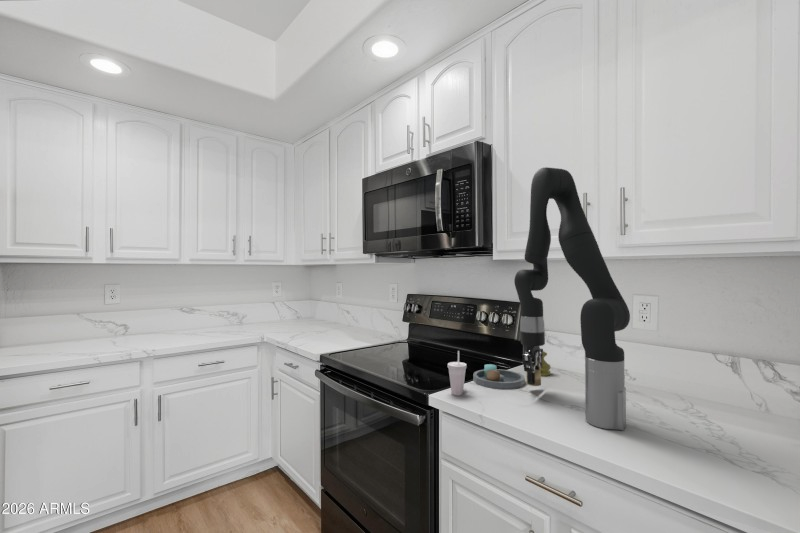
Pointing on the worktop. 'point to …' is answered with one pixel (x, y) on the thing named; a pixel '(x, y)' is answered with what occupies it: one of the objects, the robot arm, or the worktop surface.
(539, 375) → the oak bead
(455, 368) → the smoothie
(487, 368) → the teal bead
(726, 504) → the worktop surface
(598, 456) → the worktop surface
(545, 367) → the olive chess piece
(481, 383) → the ring tray
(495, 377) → the walnut bead
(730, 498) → the worktop surface
